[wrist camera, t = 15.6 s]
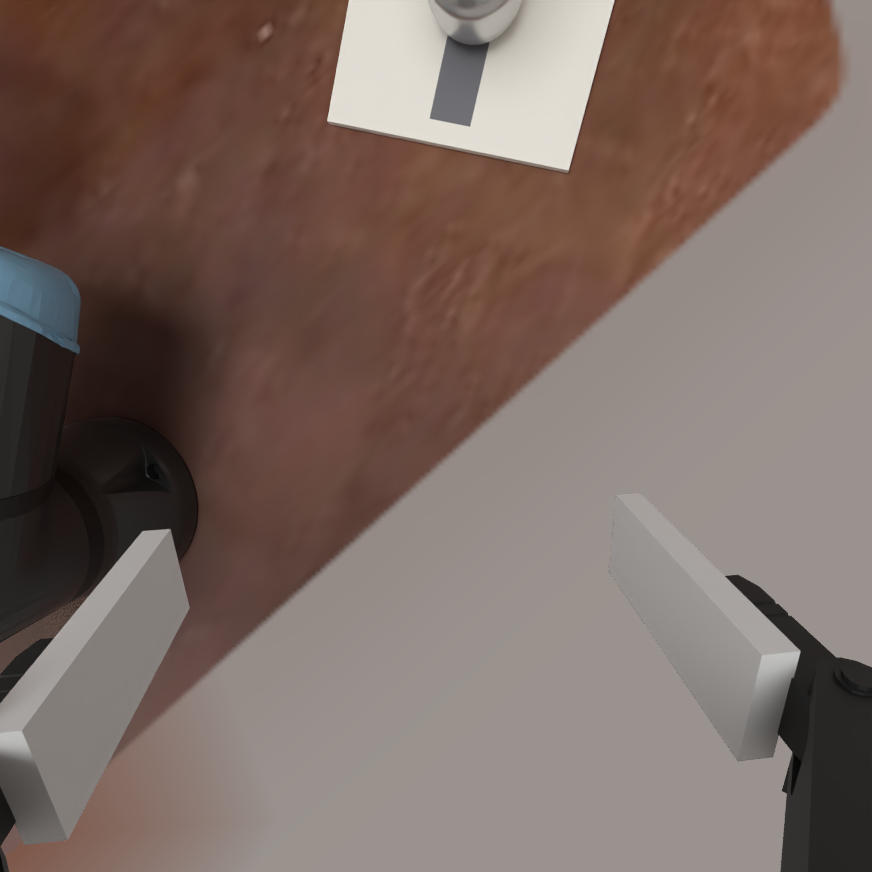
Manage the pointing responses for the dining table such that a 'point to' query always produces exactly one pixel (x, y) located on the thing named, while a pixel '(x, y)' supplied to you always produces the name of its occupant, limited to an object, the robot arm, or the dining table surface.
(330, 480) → the dining table surface
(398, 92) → the letter board
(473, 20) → the plastic bottle
